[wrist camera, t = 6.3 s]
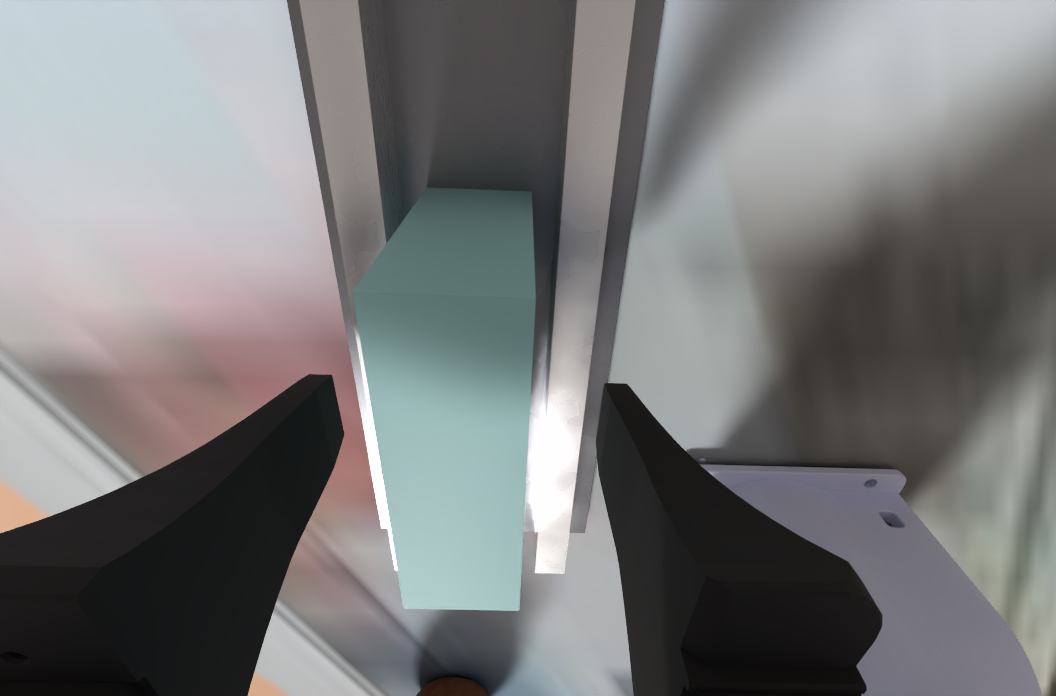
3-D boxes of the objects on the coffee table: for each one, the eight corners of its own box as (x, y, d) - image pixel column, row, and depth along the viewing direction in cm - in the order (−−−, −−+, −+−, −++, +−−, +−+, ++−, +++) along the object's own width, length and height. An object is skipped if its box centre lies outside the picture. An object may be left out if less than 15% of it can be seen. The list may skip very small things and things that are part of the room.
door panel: (531, 191, 14) (535, 298, 8) (521, 431, 19) (519, 610, 13) (426, 187, 14) (352, 291, 8) (442, 429, 19) (403, 608, 13)
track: (679, -141, 11) (718, -188, 9) (583, 522, 22) (589, 574, 20) (269, -162, 11) (201, -217, 8) (384, 517, 22) (369, 569, 20)
